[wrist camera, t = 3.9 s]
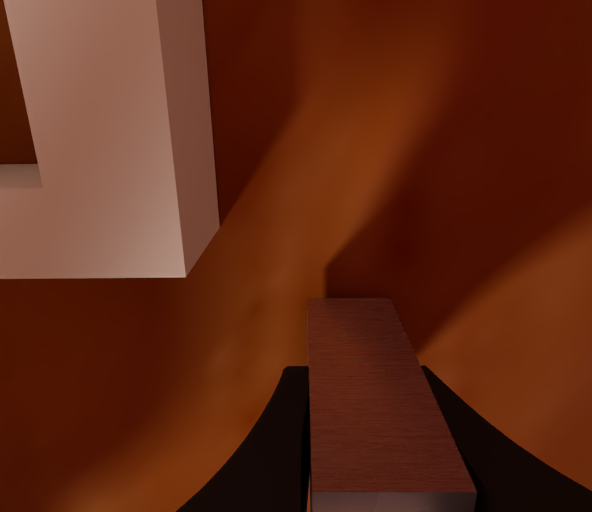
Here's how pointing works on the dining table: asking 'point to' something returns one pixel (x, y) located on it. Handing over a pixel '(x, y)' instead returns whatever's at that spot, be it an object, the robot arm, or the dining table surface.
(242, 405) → the dining table surface
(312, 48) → the dining table surface
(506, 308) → the dining table surface
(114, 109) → the pale beige flat-sided block
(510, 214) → the dining table surface
